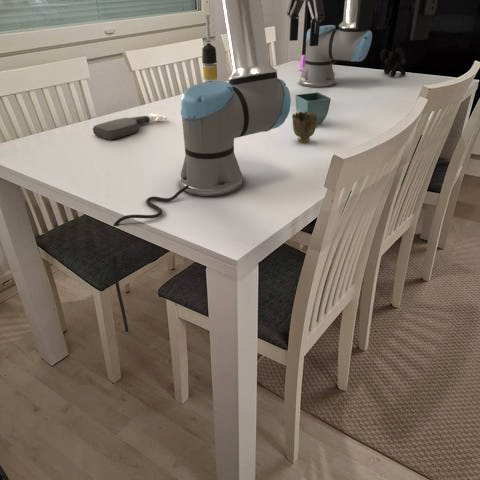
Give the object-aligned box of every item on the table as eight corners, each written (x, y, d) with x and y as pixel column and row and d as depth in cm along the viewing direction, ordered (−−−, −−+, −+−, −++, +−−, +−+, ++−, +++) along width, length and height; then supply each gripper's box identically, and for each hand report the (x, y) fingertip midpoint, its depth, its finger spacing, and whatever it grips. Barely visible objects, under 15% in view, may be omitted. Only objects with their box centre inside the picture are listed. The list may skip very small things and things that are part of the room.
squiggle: (394, 87, 211) (371, 67, 214) (410, 72, 211) (386, 52, 214) (398, 76, 200) (374, 55, 203) (415, 59, 199) (390, 39, 202)
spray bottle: (91, 134, 143) (149, 117, 159) (112, 141, 137) (170, 123, 153) (89, 125, 142) (148, 109, 158) (110, 132, 136) (170, 114, 152)
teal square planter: (329, 125, 147) (331, 98, 143) (306, 129, 145) (307, 101, 140) (315, 118, 154) (317, 91, 150) (293, 121, 152) (294, 94, 147)
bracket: (309, 71, 219) (310, 56, 215) (300, 70, 222) (300, 55, 218) (322, 66, 228) (323, 52, 224) (312, 65, 231) (313, 51, 227)
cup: (287, 143, 133) (288, 116, 129) (296, 135, 139) (297, 110, 135) (310, 147, 130) (312, 119, 126) (319, 139, 136) (321, 113, 132)
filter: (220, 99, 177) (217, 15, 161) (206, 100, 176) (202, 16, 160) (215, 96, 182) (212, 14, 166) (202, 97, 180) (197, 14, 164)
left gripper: (515, -158, 51) (468, 42, 62) (378, -123, 71) (361, 24, 82) (465, -162, 49) (425, 46, 60) (338, -125, 68) (326, 27, 80)
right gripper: (341, -36, 123) (334, 47, 134) (299, -35, 142) (295, 37, 153) (317, -36, 120) (312, 49, 131) (278, -35, 140) (275, 39, 151)
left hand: (388, 34), depth 71 cm, fingers open, 13 cm apart
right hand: (303, 43), depth 142 cm, fingers open, 13 cm apart
